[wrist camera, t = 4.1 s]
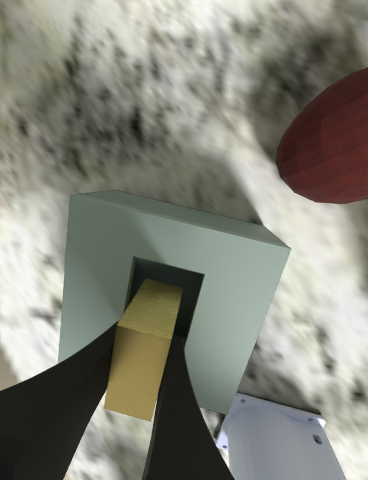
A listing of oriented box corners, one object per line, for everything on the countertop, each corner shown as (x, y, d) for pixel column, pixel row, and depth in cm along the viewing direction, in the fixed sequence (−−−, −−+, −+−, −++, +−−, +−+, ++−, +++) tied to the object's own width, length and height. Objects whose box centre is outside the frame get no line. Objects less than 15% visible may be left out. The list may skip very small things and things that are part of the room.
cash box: (264, 225, 18) (291, 249, 12) (222, 349, 22) (227, 415, 16) (115, 190, 19) (70, 195, 13) (98, 316, 23) (57, 367, 17)
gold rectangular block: (183, 288, 14) (171, 339, 9) (167, 351, 15) (150, 421, 11) (145, 278, 14) (116, 325, 9) (133, 342, 15) (103, 408, 11)
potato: (394, 176, 17) (493, 174, 11) (282, 216, 18) (317, 233, 12) (374, 71, 15) (477, 4, 9) (254, 125, 17) (279, 97, 11)
